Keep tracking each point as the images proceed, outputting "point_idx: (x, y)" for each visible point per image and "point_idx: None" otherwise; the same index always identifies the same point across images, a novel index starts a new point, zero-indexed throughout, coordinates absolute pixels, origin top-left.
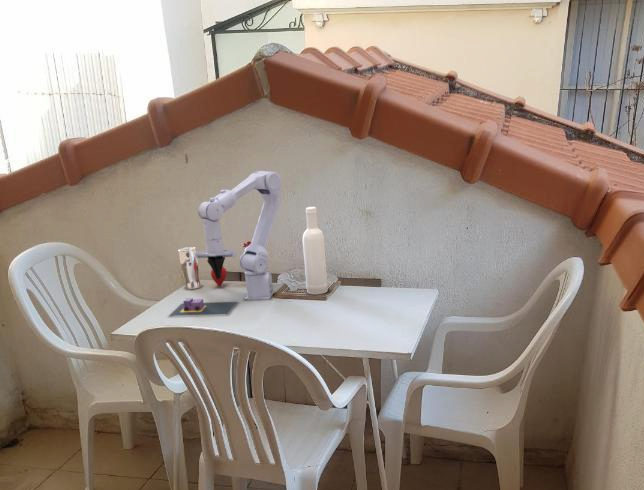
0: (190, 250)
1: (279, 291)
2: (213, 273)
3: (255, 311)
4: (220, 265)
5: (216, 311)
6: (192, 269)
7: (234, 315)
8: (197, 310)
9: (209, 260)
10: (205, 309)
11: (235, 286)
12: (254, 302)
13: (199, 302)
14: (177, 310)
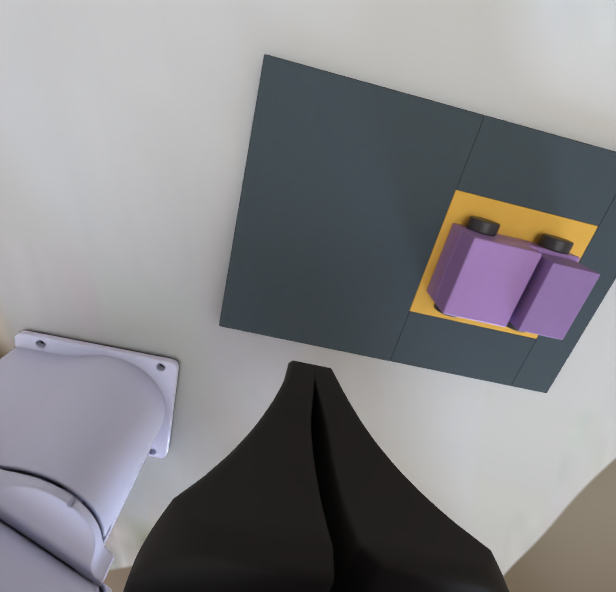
0: None
1: None
2: None
3: (52, 82)
4: (225, 458)
5: (346, 154)
6: None
7: (205, 26)
8: (477, 217)
9: (466, 584)
10: (421, 231)
11: None
12: (108, 300)
13: (476, 236)
14: (601, 270)
